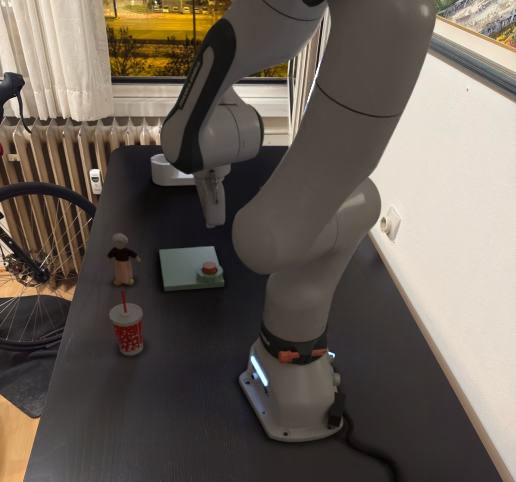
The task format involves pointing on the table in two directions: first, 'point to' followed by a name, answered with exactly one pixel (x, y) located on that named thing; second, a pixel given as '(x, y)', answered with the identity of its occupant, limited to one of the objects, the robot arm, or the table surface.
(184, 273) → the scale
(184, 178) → the bracket
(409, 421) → the table surface
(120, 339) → the beverage cup
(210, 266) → the tare button
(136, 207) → the table surface
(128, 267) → the grandmother figurine
